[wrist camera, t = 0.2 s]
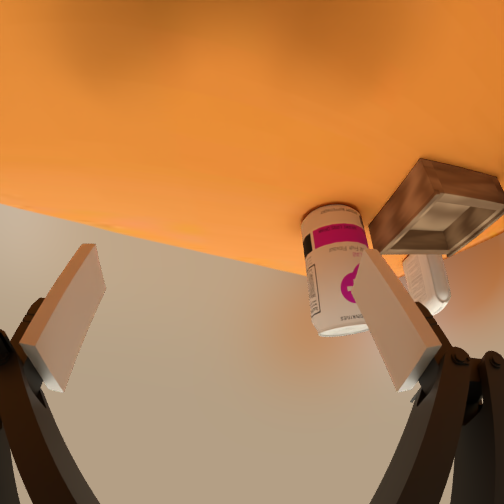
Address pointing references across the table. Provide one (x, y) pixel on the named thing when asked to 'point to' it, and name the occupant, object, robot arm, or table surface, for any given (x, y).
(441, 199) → the crate
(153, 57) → the table surface
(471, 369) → the robot arm
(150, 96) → the table surface
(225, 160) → the table surface
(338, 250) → the supplement can
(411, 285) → the white rounded block
